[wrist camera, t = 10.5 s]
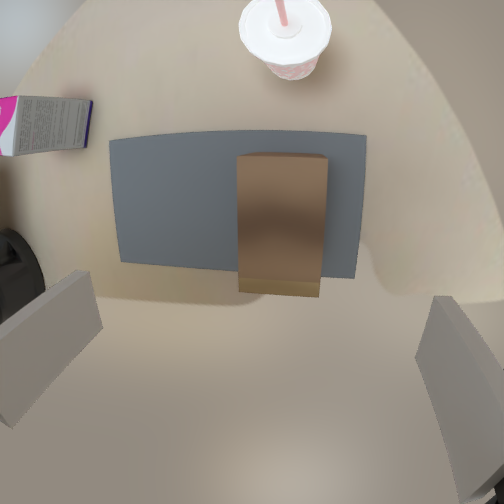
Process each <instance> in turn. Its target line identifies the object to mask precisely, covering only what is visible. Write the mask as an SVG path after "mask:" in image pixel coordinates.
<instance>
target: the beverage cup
mask: <svg viewBox="0 0 504 504" xmlns="http://www.w3.org/2000/svg"><path fill="white" fill-rule="evenodd" d="M239 31H240V38H241V40H242V41H243V43H244V44H245V46H246V47H247V48H248V50H249V51H250V53H251V54H252V55H254V56H255V57H257V58H258V59H260V60H262V61H263V62H264V63H265V64H266V65H267V66H268V67H269V68H270V70H271V71H272V72H273V73H274V74H276V75H277V76H279V77H280V78H283V79H287V80H300V79H302V78H304V77H306V76H308V75H309V74H310V73H311V72H312V71H313V70H314V68H315V66H316V63H317V61H318V58H319V56H320V54H321V53H322V52H323V50H324V49H325V48H326V47H327V45H328V42H329V39H330V35H331V31H332V26H331V21H330V17H329V14H328V12H327V11H326V10H325V8H324V7H323V6H322V5H321V3H320V2H319V1H317V0H252V1H251V2H250V3H249V4H248V5H247V6H246V8H245V9H244V10H243V12H242V15H241V18H240V21H239Z"/></svg>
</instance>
